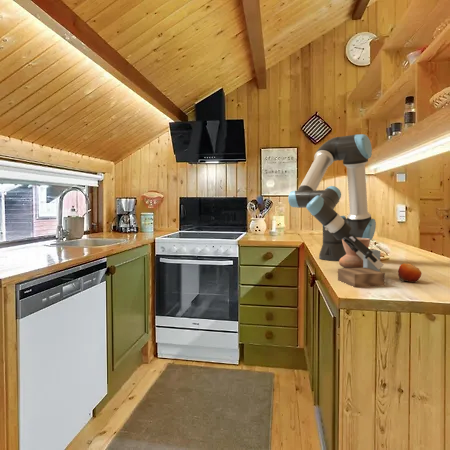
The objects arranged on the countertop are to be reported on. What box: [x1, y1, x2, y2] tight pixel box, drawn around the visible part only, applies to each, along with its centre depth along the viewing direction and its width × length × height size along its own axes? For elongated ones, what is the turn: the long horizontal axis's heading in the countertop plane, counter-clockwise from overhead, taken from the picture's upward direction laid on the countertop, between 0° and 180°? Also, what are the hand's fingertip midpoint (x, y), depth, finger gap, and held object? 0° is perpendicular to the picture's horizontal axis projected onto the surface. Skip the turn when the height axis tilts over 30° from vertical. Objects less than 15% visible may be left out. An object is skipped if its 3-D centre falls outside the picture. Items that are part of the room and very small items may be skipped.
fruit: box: [397, 262, 422, 283], centre depth 139 cm, size 8×8×8 cm
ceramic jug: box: [338, 238, 371, 268], centre depth 164 cm, size 18×14×14 cm
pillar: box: [363, 249, 381, 272], centre depth 147 cm, size 5×5×11 cm
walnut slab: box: [337, 267, 385, 288], centre depth 137 cm, size 12×12×5 cm
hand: (374, 264), depth 147 cm, fingers open, 13 cm apart
